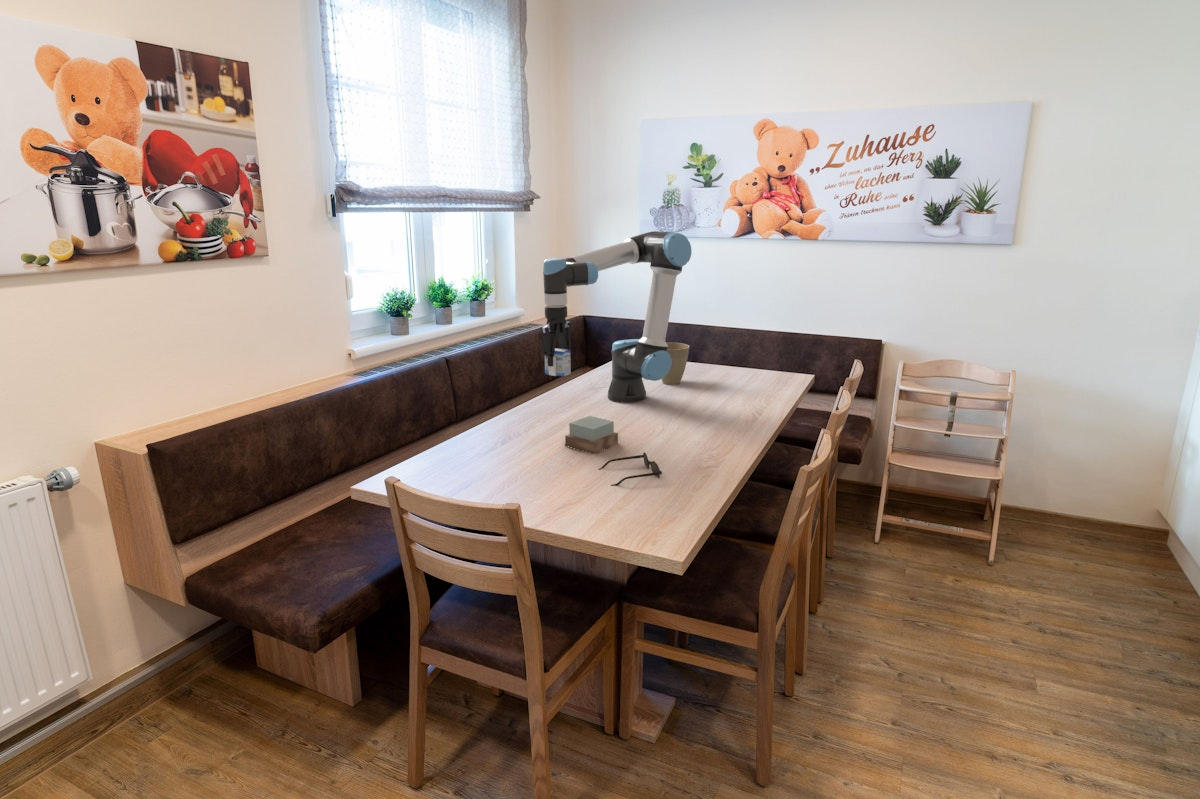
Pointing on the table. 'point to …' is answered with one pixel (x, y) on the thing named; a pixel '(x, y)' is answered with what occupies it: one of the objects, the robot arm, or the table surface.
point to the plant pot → (676, 362)
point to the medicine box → (560, 362)
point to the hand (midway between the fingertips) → (557, 373)
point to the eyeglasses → (653, 465)
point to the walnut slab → (591, 443)
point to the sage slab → (591, 428)
